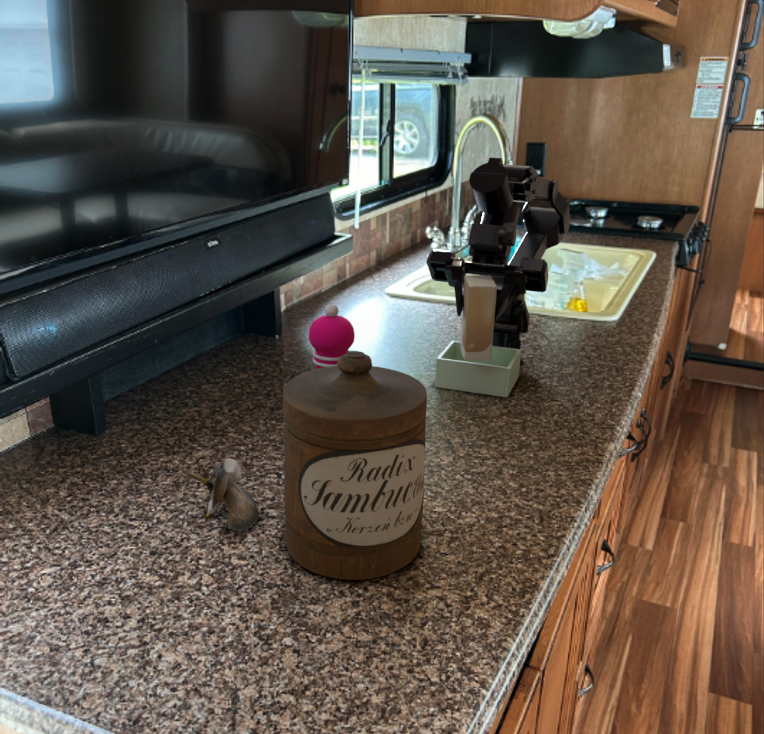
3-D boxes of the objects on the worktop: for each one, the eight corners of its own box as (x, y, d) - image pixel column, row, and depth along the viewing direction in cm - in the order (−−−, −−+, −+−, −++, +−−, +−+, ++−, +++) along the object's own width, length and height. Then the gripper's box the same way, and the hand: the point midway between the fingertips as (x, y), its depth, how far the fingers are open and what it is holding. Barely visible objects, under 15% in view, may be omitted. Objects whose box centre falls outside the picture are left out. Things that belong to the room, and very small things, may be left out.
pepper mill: (365, 437, 109) (367, 300, 101) (346, 459, 103) (347, 314, 95) (318, 429, 111) (317, 294, 103) (297, 450, 105) (294, 308, 97)
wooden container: (312, 595, 76) (309, 388, 67) (269, 521, 88) (262, 338, 79) (444, 563, 82) (458, 368, 73) (387, 497, 94) (392, 324, 85)
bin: (434, 386, 128) (436, 358, 126) (450, 367, 137) (452, 340, 135) (507, 397, 124) (510, 368, 122) (518, 376, 133) (521, 349, 131)
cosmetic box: (459, 347, 126) (463, 274, 121) (485, 347, 126) (491, 274, 121) (464, 361, 120) (468, 285, 115) (492, 361, 120) (497, 285, 115)
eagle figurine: (169, 501, 90) (199, 522, 82) (192, 444, 90) (225, 460, 83) (224, 518, 94) (258, 539, 87) (246, 463, 95) (282, 480, 88)
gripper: (432, 197, 119) (408, 284, 115) (553, 206, 114) (534, 297, 109) (443, 238, 130) (422, 319, 125) (555, 248, 124) (537, 333, 119)
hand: (476, 317), depth 119 cm, fingers closed on cosmetic box, 5 cm apart
